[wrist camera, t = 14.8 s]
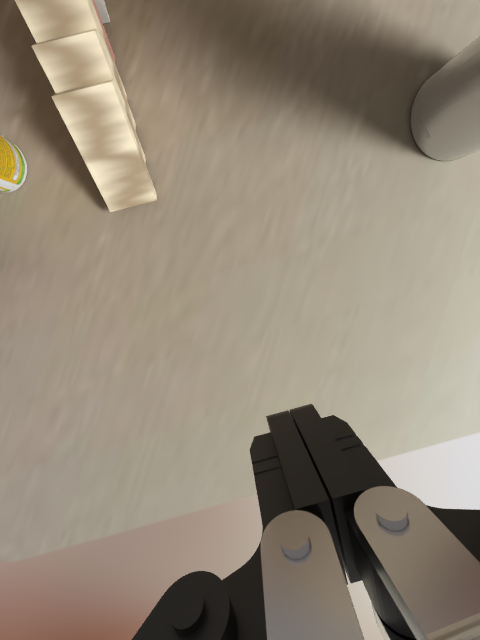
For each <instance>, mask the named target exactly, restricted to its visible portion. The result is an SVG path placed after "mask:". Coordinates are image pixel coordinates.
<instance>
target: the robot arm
mask: <svg viewBox="0 0 480 640" xmlns="http://www.w3.org/2000/svg"><path fill="white" fill-rule="evenodd" d="M411 129H412V134H413V137H414V139H415V142H416V144H417V145H418V146H419V148H420V149H421V151H423V152H424V153H425V154H426V155H427V156H429V157H431V158H433V159H436V160H440V161H451V160H455V159H458V158H461V157H463V156H466V155H469V154H471V153H474V152H476V151H479V150H480V37H478V38H477V39H476V40H475V41H473V42H472V43H471V44H470V45H469V46H467V47H466V48H465V49H464V50H463V51H461V52H460V53H459V54H457V55H456V56H455V57H454V58H453V59H451V60H450V61H449V62H448V63H447V64H445V65H444V66H443V67H442V68H441V69H439V70H438V71H437V72H436V73H435V74H433V75H432V76H431V77H430V78H429V79H427V81H426V82H425V83H424V84H423V85H422V86H421V88H420V90H419V91H418V93H417V95H416V97H415V100H414V103H413V105H412V111H411ZM266 417H267V421H268V425H269V429H270V433H267V434H263V435H259V436H256V437H254V440H253V442H252V445H251V448H250V454H251V459H252V464H253V471H254V476H255V483H256V489H257V495H258V500H259V506H260V512H261V517H262V525H263V533H262V538H261V542H260V544H259V547H258V548H257V550H256V552H255V553H254V555H253V556H252V557H251V559H250V560H249V561H248V562H247V563H246V564H245V565H243V566H242V567H241V568H239V569H238V570H236V571H235V572H233V573H232V574H231V575H229V576H228V577H226V578H225V579H223V580H221V579H220V578H219V577H218V576H216V575H215V574H213V573H210V572H206V571H197V572H192V573H190V574H187V575H185V576H183V577H182V578H180V579H179V580H177V581H176V582H175V583H173V585H172V586H171V587H169V588H168V590H167V591H166V592H165V593H164V595H163V596H162V597H161V599H160V600H159V602H158V603H157V605H156V606H155V607H154V609H153V610H152V612H151V613H150V615H149V616H148V618H147V619H146V620H145V622H144V623H143V624H142V626H141V627H140V629H139V630H138V632H137V633H136V635H135V636H134V637H133V639H132V640H364V637H363V634H362V631H361V628H360V625H359V621H358V619H357V615H356V612H355V609H354V606H353V603H352V600H351V597H350V593H349V590H348V587H347V584H348V583H347V579H346V574H345V570H346V573H347V575H348V578H349V580H350V582H351V583H353V582H357V581H361V580H362V581H363V583H364V586H365V588H366V590H367V592H368V594H369V597H370V599H371V602H372V607H373V612H374V616H375V620H376V623H377V625H378V627H379V630H380V632H381V634H382V636H383V638H384V640H480V510H462V509H441V508H435V507H431V506H427V505H425V504H424V503H423V502H422V501H421V500H420V499H419V498H417V497H416V496H414V495H413V494H411V493H409V492H407V491H405V490H403V489H399V488H397V487H396V486H395V484H394V483H393V482H392V480H391V479H390V478H389V476H388V475H387V474H386V473H385V471H384V470H383V469H382V467H381V466H380V465H379V463H378V462H377V461H376V460H375V458H374V457H373V456H372V454H371V453H370V452H369V451H368V449H367V448H366V447H365V446H364V445H363V443H362V441H361V440H360V439H359V438H358V436H356V434H355V432H354V431H353V430H352V428H351V427H350V426H349V425H348V423H347V422H345V421H343V420H341V419H339V418H338V417H336V416H334V415H332V416H328V417H325V418H321V417H320V415H319V414H318V412H317V411H316V409H315V408H314V406H313V405H312V404H309V405H305V406H302V407H298V408H294V409H291V410H290V413H289V411H288V410H287V411H284V412H280V413H277V414H273V415H269V416H266ZM344 568H345V569H344Z"/></svg>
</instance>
